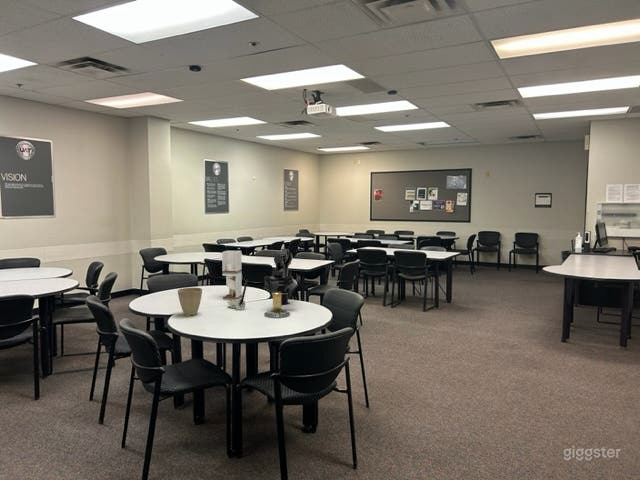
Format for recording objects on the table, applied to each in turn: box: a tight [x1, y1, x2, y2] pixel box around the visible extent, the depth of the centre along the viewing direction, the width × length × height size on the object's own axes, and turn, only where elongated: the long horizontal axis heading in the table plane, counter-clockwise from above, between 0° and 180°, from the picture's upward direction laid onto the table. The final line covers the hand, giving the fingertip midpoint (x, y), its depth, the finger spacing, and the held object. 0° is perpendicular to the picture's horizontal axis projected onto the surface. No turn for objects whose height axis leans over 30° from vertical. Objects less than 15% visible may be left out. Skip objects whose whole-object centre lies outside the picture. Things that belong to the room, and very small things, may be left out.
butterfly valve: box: [227, 279, 249, 311], centre depth 303 cm, size 9×20×17 cm
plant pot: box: [177, 287, 203, 317], centre depth 282 cm, size 15×15×16 cm
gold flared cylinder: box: [271, 291, 282, 313], centre depth 282 cm, size 6×6×13 cm
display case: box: [221, 250, 243, 301], centre depth 333 cm, size 11×11×35 cm
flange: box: [263, 308, 291, 319], centre depth 283 cm, size 16×16×2 cm
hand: (277, 291), depth 291 cm, fingers open, 9 cm apart
